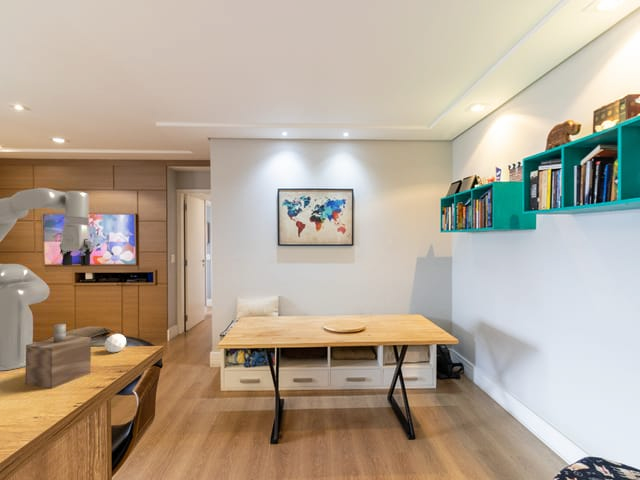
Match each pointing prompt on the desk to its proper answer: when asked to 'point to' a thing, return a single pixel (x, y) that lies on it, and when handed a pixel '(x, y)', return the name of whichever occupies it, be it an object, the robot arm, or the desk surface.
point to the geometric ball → (115, 343)
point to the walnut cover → (57, 359)
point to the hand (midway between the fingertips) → (76, 265)
